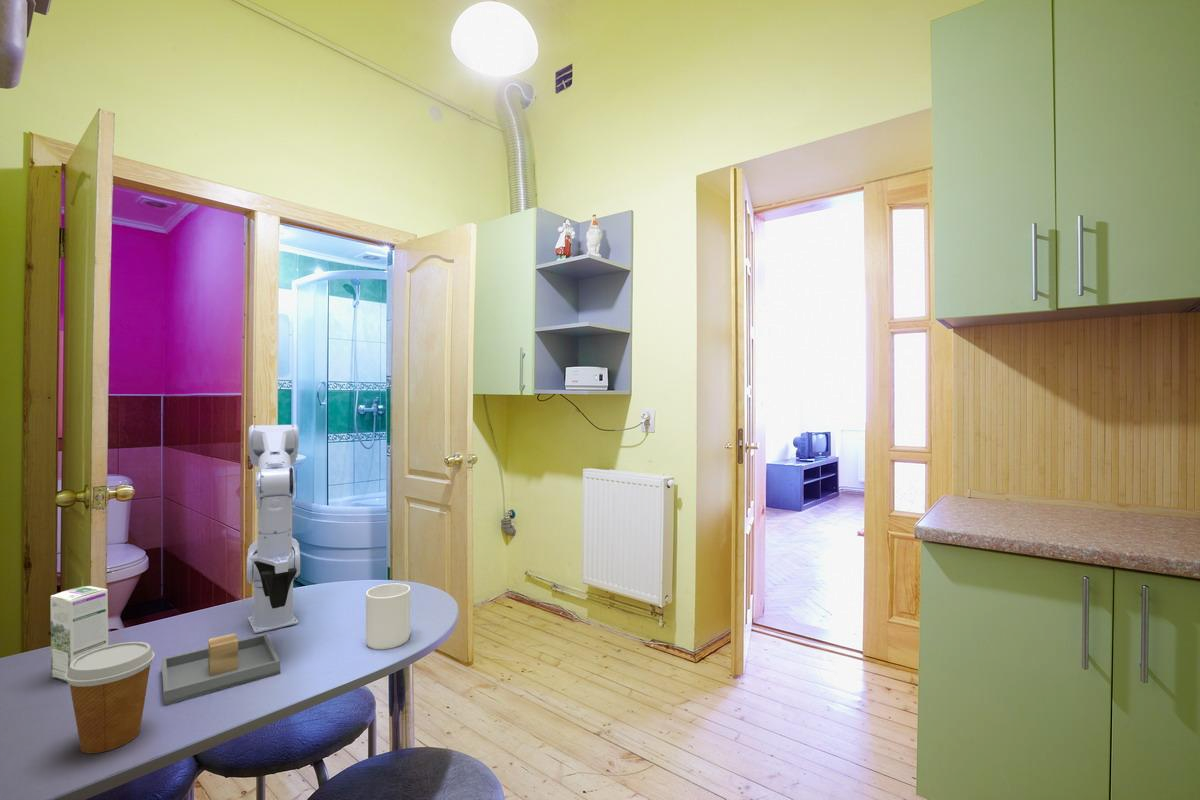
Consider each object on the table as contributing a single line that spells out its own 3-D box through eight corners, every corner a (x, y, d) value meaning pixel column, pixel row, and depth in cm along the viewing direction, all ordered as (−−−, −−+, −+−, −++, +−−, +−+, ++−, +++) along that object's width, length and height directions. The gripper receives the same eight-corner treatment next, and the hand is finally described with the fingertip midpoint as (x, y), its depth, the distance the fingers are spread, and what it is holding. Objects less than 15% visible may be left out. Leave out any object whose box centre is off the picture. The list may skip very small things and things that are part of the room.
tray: (161, 671, 96) (161, 658, 96) (266, 645, 107) (266, 634, 107) (164, 705, 86) (164, 691, 86) (280, 673, 96) (280, 660, 96)
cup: (375, 654, 103) (376, 601, 103) (351, 634, 112) (352, 585, 112) (417, 640, 109) (417, 590, 109) (391, 623, 118) (391, 576, 118)
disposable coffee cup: (102, 721, 82) (103, 641, 82) (170, 718, 82) (170, 639, 82) (43, 763, 72) (43, 673, 72) (120, 760, 73) (120, 670, 73)
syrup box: (110, 668, 97) (110, 587, 97) (69, 684, 92) (69, 598, 92) (90, 663, 99) (90, 583, 99) (48, 678, 94) (48, 594, 94)
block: (208, 667, 97) (208, 639, 97) (235, 660, 99) (235, 633, 99) (210, 676, 94) (210, 647, 94) (238, 669, 96) (238, 640, 96)
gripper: (245, 526, 108) (244, 594, 108) (256, 541, 97) (256, 618, 97) (285, 521, 112) (285, 587, 113) (300, 535, 101) (300, 608, 101)
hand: (274, 600), depth 105 cm, fingers open, 7 cm apart
